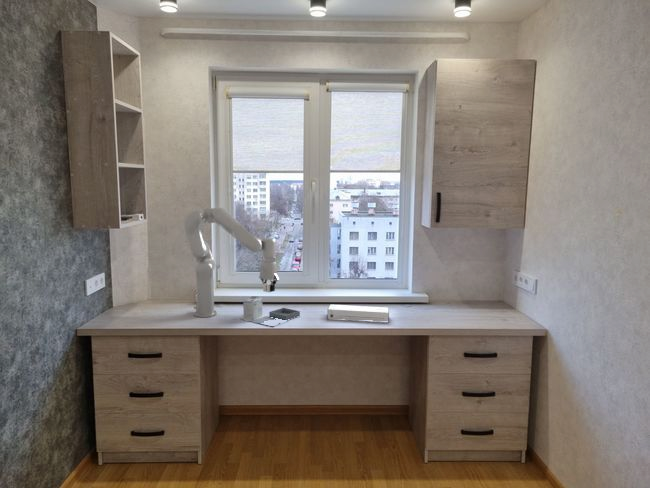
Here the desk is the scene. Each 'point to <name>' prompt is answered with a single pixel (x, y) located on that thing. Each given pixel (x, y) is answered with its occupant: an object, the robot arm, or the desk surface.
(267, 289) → the die
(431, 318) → the desk surface
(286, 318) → the dice tray
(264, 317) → the track mat
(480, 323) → the desk surface
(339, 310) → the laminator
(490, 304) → the desk surface
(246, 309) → the light bulb box
